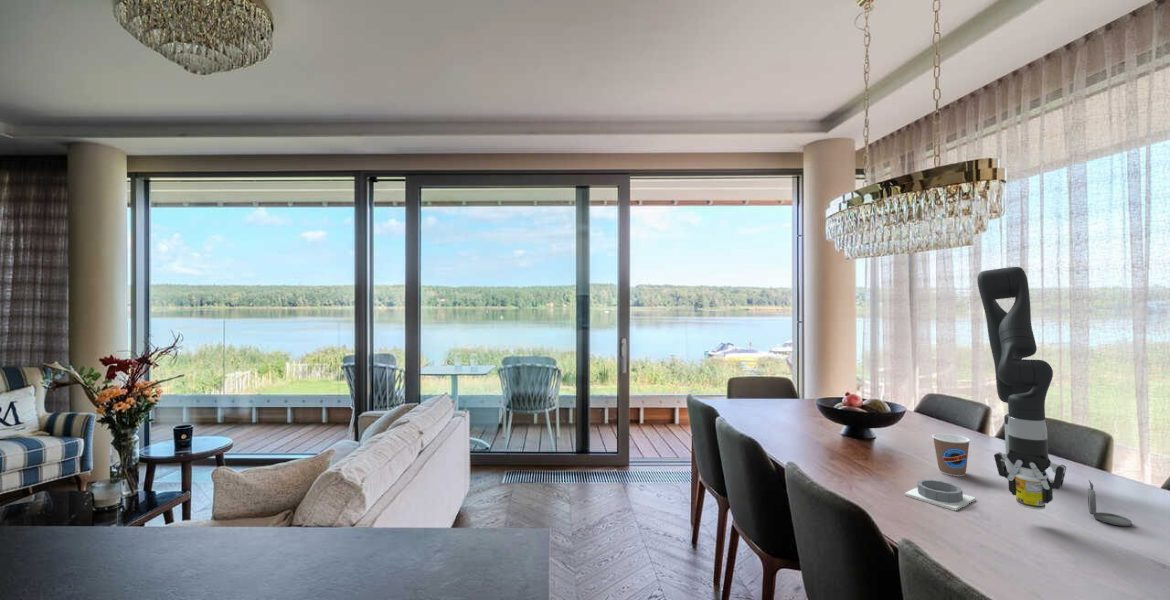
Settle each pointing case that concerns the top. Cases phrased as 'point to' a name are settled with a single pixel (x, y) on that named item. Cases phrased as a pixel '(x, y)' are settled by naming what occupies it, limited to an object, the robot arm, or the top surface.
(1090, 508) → the pocket watch
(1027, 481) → the supplement bottle
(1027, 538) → the top surface
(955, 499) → the ring holder
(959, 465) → the coffee cup
